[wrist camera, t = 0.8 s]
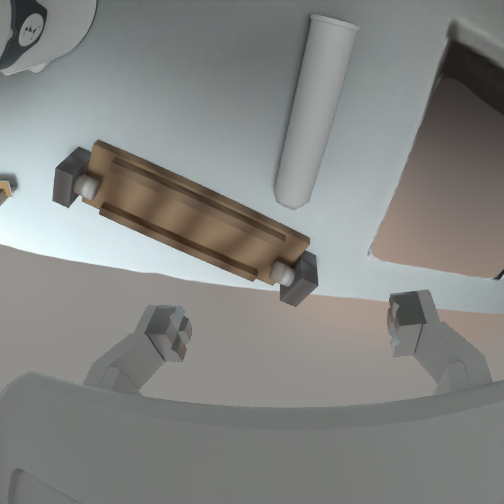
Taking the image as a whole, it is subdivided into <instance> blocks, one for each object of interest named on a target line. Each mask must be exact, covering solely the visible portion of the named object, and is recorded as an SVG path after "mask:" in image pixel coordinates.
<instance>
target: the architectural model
mask: <svg viewBox="0 0 504 504" xmlns="http://www.w3.org/2000/svg"><path fill="white" fill-rule="evenodd" d="M17 188H18V187H11V186H10V184H9V181H4V179H2V180H1V181H0V206H1V205H2V204H3V203H4V202H5V200H6V199H7V198H8V197H12V196H13V194H12V193H13V192H14V191H15V190H16V189H17Z"/></svg>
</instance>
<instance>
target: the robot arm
mask: <svg viewBox="0 0 504 504" xmlns="http://www.w3.org/2000/svg"><path fill="white" fill-rule="evenodd" d="M95 10H96V0H0V72H2V73H4V75H11V74H14V73H17V72H20V71H23V70H27V69H28V70H30V71H31V72H33V73H38V72H41V71H43V70H44V69H45V68H46V67H47V66H48V65H49V64H50V63H51V61H53V60H54V59H56V58H59V57H61V56H63V55H65V54H67V53H68V52H70V51H71V50H73V49H74V48H75V47H76V46H77V45H78V44H79V43H80V42H81V40H82V39H83V38H84V36H85V35H86V33H87V32H88V30H89V28H90V26H91V23H92V21H93V18H94V14H95ZM389 303H390V308H389V309H388V315H387V316H388V317H387V324H388V331H389V334H390V335H391V336H392V338H391V348H392V354H393V357H399V356H410V355H414V357H415V358H416V359H417V360H418V362H420V364H421V365H422V366H423V367H424V368H425V370H426V371H427V372H428V373H429V374H430V376H431V377H432V378H433V379H434V380H435V382H436V383H437V384H438V386H437V388H436V389H435V391H434V393H433V395H432V396H427V397H421V398H415V399H408V400H400V401H392V402H384V403H374V404H363V405H350V406H335V407H334V406H333V407H306V408H268V407H265V408H264V407H240V406H222V405H210V404H199V403H189V402H179V401H171V400H164V399H157V398H151V397H144V396H143V395H142V394H141V393H140V392H139V391H138V390H139V389H140V388H141V387H142V386H143V385H144V384H145V383H146V382H147V381H148V380H149V379H150V378H151V376H152V375H153V374H154V373H155V372H156V371H157V370H158V369H159V368H160V367H161V366H162V365H163V364H164V363H165V361H172V362H183V359H184V356H185V353H186V350H187V349H186V346H185V344H187V343H188V342H189V341H190V338H191V335H192V327H191V323H190V321H189V319H188V318H186V317H185V316H184V313H185V311H184V309H183V307H182V306H172V305H149V306H148V307H146V309H145V311H144V313H143V315H142V317H141V319H140V321H139V323H138V325H137V327H136V329H135V331H134V333H133V334H129V335H128V336H127V337H126V338H124V339H123V340H122V341H120V342H119V343H118V344H116V345H115V346H114V347H113V348H111V349H110V350H109V351H108V352H106V353H105V354H104V355H102V356H101V357H100V358H99V359H98V360H96V361H95V362H94V363H93V364H92V366H91V368H90V370H89V372H88V374H87V376H86V378H85V380H84V382H83V384H79V383H74V382H70V381H67V380H63V379H59V378H55V377H52V376H49V375H45V374H41V373H39V372H35V371H26V372H25V373H23V374H21V375H20V376H18V377H17V378H16V379H14V380H13V381H11V382H10V383H9V384H7V385H6V386H5V387H4V388H3V389H2V391H1V392H0V504H504V380H501V381H497V382H493V381H492V378H491V375H490V371H489V368H488V365H487V362H486V359H485V356H484V355H483V354H482V353H481V352H480V351H479V350H477V349H476V348H475V347H474V346H473V345H472V344H470V343H469V342H468V341H467V340H466V339H465V338H463V337H462V336H461V335H460V334H458V333H457V332H456V331H455V330H454V329H452V328H451V327H450V326H449V325H447V324H446V323H445V322H444V321H443V322H440V319H439V316H438V313H437V310H436V307H435V304H434V302H433V299H432V296H431V293H430V291H429V290H420V291H412V292H403V293H394V294H391V295H390V299H389Z"/></svg>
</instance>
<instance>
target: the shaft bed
mask: <svg viewBox="0 0 504 504" xmlns="http://www.w3.org/2000/svg"><path fill="white" fill-rule="evenodd" d="M79 195H81V196H83V197H82V202H84V203H86V204H89V205H91V206H93V207H95V208H97V209H99V210H100V212H99V214H100V215H102V216H104V217H106V218H108V219H110V220H113V221H115V222H117V223H119V224H121V225H124V226H126V227H128V228H130V229H132V230H135V231H137V232H139V233H141V234H144V235H146V236H148V237H150V238H153V239H155V240H157V241H159V242H162V243H164V244H166V245H168V246H171V247H173V248H175V249H177V250H180V251H182V252H184V253H187V254H189V255H191V256H193V257H196V258H198V259H200V260H203V261H205V262H207V263H210V264H212V265H214V266H217V267H219V268H221V269H224V270H226V271H228V272H231V273H233V274H235V275H238V276H240V277H243V278H245V279H247V280H250V281H252V282H253V281H254V280H255V279H258V280H261V281H263V282H265V283H268V284H270V285H272V286H273V285H274V284H275V283H276V282H277V283H279V284H280V301H282V302H285V303H287V304H290V305H292V306H295V307H296V306H297V305H298V304H300V303H301V302H302V301H303V300H304V299H305V298H306V297H307V296H308V295H309V294H310V293H311V292H312V291H313V290H314V289H315V288H316V287H317V286H318V275H317V264H316V256H315V255H313V254H311V253H309V252H307V251H305V249H306V248H307V247H308V246H309V245H310V239H309V237H307V236H305V235H303V234H301V233H299V232H297V231H295V230H293V229H291V228H289V227H287V226H285V225H283V224H281V223H279V222H276V221H274V220H272V219H270V218H268V217H266V216H264V215H262V214H260V213H258V212H256V211H254V210H252V209H250V208H248V207H246V206H244V205H242V204H239V203H237V202H235V201H233V200H231V199H229V198H227V197H225V196H223V195H220V194H218V193H216V192H214V191H212V190H210V189H208V188H206V187H203V186H201V185H199V184H197V183H195V182H193V181H190V180H188V179H186V178H184V177H182V176H179V175H177V174H175V173H173V172H171V171H168V170H166V169H164V168H162V167H160V166H157V165H155V164H153V163H151V162H148V161H146V160H144V159H142V158H139V157H137V156H135V155H132V154H130V153H128V152H126V151H123V150H121V149H119V148H116V147H114V146H112V145H109V144H107V143H105V142H102V141H100V140H97V141H96V142H95V143H94V144H93V147H92V152H89V151H87V150H85V149H82V148H80V147H78V148H77V149H76V150H75V151H74V152H72V153H71V154H70V155H69V156H68V157H67V158H66V159H65V160H64V161H62V162H61V163H60V164H59V165H58V166H57V167H56V170H55V178H54V188H53V199H52V201H54V202H57V203H59V204H61V205H63V206H65V207H67V208H69V207H70V205H71V204H72V203H73V202H74V201H75V199H76V198H77V197H78V196H79Z"/></svg>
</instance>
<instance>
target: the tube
mask: <svg viewBox="0 0 504 504" xmlns="http://www.w3.org/2000/svg"><path fill="white" fill-rule="evenodd" d="M310 19H311V24H310V28H309V33H308V38H307V42H306V47H305V52H304V56H303V61H302V65H301V70H300V75H299V79H298V84H297V88H296V93H295V97H294V102H293V106H292V111H291V115H290V120H289V125H288V129H287V134H286V138H285V142H284V147H283V151H282V156H281V160H280V165H279V169H278V174H277V178H276V183H275V190H274V195H275V198H276V201H277V203H279V204H281V205H283V206H285V207H287V208H290V209H292V210H296V209H298V208H300V207H302V206H303V205H305V204H307V203H308V202H309V201H310V197H311V194H312V191H313V187H314V184H315V181H316V178H317V174H318V171H319V168H320V164H321V161H322V157H323V154H324V151H325V147H326V144H327V140H328V137H329V133H330V130H331V126H332V123H333V119H334V115H335V112H336V108H337V105H338V101H339V97H340V94H341V90H342V86H343V82H344V79H345V75H346V71H347V67H348V63H349V60H350V56H351V52H352V48H353V44H354V40H355V36H356V33H357V31H359V29H360V26H357V25H354V24H351V23H348V22H344V21H341V20H337V19H334V18H330V17H326V16H321V15H316V14H310Z"/></svg>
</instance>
